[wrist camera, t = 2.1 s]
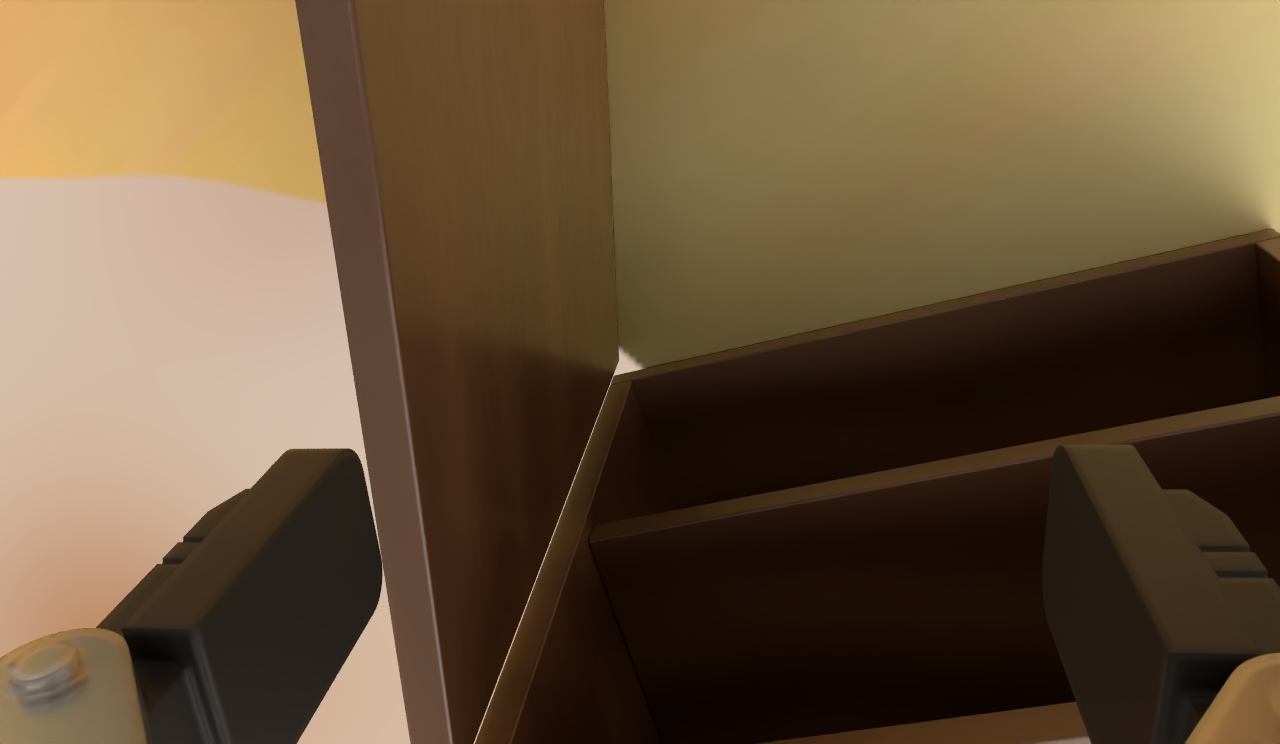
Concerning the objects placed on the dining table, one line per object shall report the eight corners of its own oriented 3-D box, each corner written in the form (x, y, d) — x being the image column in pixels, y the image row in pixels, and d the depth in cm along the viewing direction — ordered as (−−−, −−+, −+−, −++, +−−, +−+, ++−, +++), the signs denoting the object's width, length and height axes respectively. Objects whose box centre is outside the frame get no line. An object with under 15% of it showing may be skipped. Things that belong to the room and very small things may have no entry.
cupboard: (613, 375, 45) (446, 815, 23) (1272, 227, 39) (1875, 637, 17) (721, 700, 51) (669, 1283, 30) (1301, 617, 45) (1768, 1272, 24)
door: (464, 357, 45) (171, 764, 24) (387, -360, 35) (-257, -774, 14) (619, 361, 45) (458, 786, 23) (588, -374, 34) (240, -841, 13)
